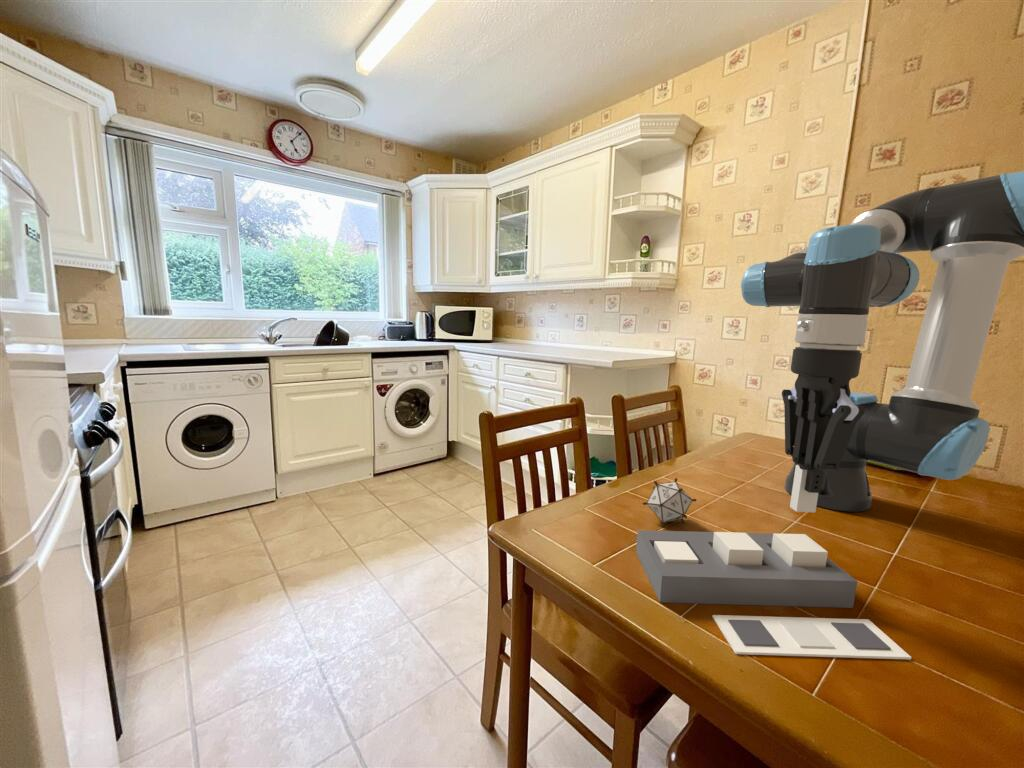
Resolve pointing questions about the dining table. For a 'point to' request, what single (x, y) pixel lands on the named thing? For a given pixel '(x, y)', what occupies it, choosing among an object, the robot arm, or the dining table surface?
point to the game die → (669, 502)
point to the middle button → (737, 549)
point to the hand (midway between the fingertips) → (802, 509)
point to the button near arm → (799, 550)
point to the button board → (740, 576)
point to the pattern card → (807, 637)
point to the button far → (675, 552)
